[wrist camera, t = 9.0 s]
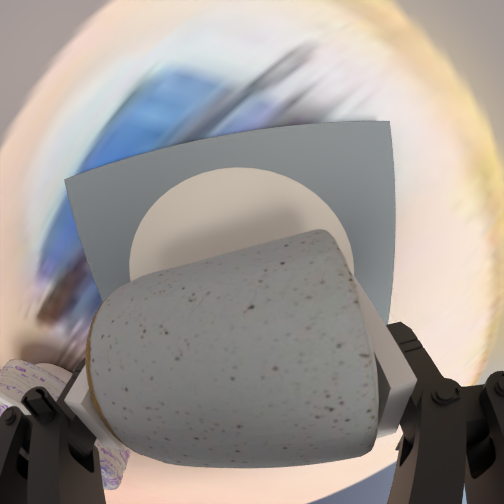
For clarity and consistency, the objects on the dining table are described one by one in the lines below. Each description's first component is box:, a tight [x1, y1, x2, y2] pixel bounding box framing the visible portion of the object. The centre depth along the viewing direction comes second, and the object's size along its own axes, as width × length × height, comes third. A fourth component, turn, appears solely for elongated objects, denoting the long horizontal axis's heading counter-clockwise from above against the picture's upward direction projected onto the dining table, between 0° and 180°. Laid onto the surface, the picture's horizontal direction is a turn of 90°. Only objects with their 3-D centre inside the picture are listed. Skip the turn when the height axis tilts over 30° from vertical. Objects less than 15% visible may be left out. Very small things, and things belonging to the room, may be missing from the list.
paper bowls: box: [0, 359, 130, 490], centre depth 18 cm, size 15×15×8 cm
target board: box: [64, 121, 395, 325], centre depth 15 cm, size 17×15×2 cm
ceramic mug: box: [85, 229, 379, 468], centre depth 9 cm, size 11×8×8 cm
